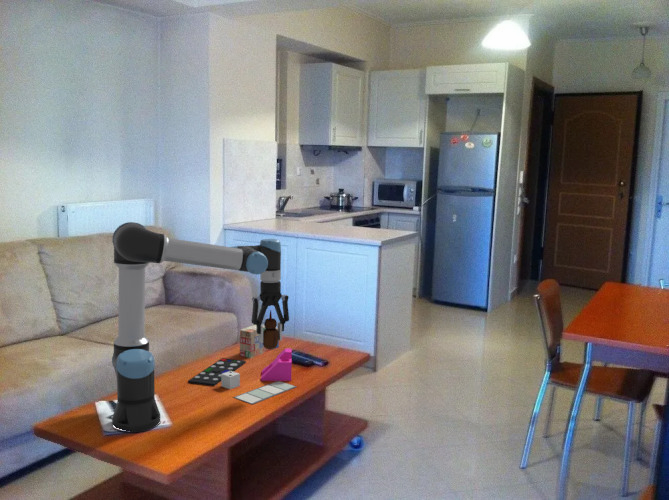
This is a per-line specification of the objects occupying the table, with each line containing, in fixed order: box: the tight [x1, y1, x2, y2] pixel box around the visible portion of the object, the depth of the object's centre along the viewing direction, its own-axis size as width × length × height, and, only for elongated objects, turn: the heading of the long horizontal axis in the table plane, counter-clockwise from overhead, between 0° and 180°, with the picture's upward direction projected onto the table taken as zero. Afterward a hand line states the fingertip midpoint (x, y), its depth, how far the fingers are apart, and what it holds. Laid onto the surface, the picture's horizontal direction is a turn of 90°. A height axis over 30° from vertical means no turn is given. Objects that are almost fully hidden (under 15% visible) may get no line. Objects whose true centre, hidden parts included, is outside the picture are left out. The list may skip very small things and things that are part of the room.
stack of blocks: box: [239, 324, 280, 359], centre depth 286 cm, size 21×6×12 cm, turn 149°
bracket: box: [260, 347, 293, 382], centre depth 254 cm, size 12×10×10 cm
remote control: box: [187, 357, 247, 387], centre depth 257 cm, size 11×30×2 cm, turn 164°
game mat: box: [232, 381, 297, 406], centre depth 237 cm, size 24×10×1 cm, turn 142°
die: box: [220, 371, 241, 390], centre depth 242 cm, size 5×5×5 cm
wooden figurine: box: [263, 310, 279, 350], centre depth 234 cm, size 7×6×15 cm
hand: (270, 340), depth 235 cm, fingers closed on wooden figurine, 7 cm apart
